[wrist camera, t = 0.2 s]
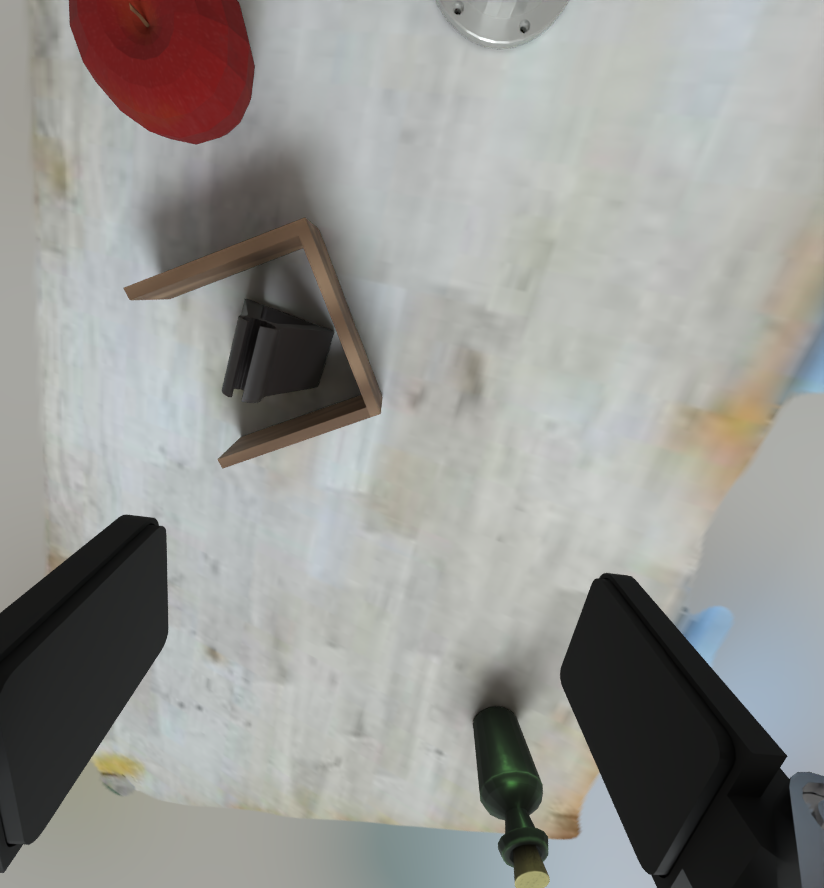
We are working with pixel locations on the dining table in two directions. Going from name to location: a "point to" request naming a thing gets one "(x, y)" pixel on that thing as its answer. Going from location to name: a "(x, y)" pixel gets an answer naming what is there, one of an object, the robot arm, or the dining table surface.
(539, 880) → the potion bottle
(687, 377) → the dining table surface
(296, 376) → the phone stand
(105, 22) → the apple
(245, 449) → the open box
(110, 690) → the robot arm
